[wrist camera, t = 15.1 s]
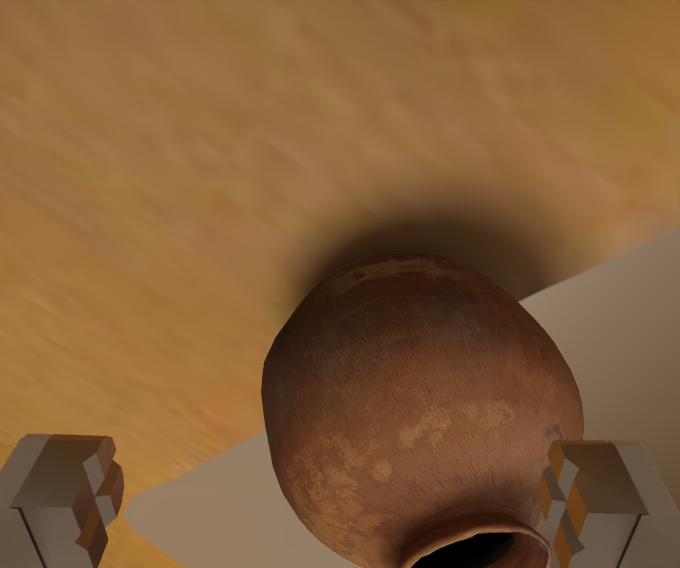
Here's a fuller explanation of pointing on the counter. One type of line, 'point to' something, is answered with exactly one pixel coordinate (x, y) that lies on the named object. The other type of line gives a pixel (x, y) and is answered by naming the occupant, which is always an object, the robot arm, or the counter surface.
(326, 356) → the pottery
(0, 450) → the counter surface
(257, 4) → the counter surface
